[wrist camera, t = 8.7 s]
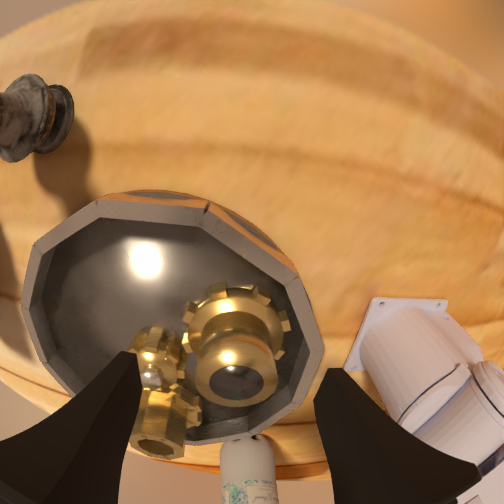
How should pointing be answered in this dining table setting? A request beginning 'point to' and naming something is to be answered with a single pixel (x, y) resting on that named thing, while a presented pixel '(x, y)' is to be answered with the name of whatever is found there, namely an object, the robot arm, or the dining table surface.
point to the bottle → (248, 471)
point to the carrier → (175, 307)
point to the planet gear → (165, 421)
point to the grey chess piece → (33, 117)
